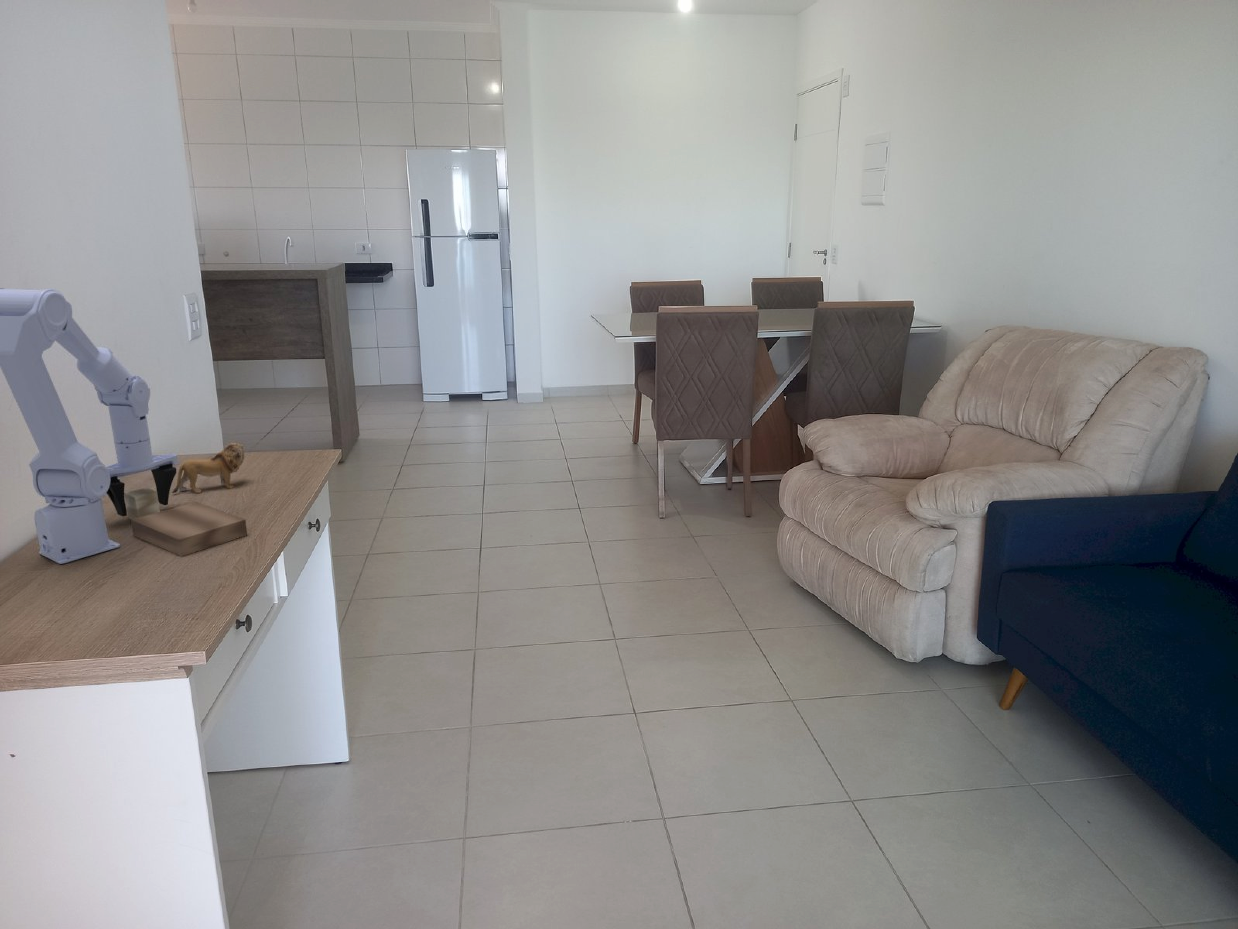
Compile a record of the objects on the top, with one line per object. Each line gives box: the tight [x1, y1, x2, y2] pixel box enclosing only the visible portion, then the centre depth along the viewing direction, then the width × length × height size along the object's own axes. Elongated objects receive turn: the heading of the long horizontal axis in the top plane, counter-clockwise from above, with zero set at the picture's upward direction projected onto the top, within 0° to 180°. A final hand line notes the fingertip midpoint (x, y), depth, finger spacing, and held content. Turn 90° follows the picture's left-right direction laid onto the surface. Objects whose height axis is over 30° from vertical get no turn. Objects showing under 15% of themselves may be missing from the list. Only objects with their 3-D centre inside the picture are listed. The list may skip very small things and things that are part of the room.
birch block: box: [124, 487, 161, 520], centre depth 157 cm, size 4×4×5 cm
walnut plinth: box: [130, 501, 248, 557], centre depth 148 cm, size 12×16×3 cm
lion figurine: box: [171, 442, 245, 494], centre depth 173 cm, size 15×5×9 cm, turn 130°
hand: (143, 509), depth 157 cm, fingers open, 7 cm apart
